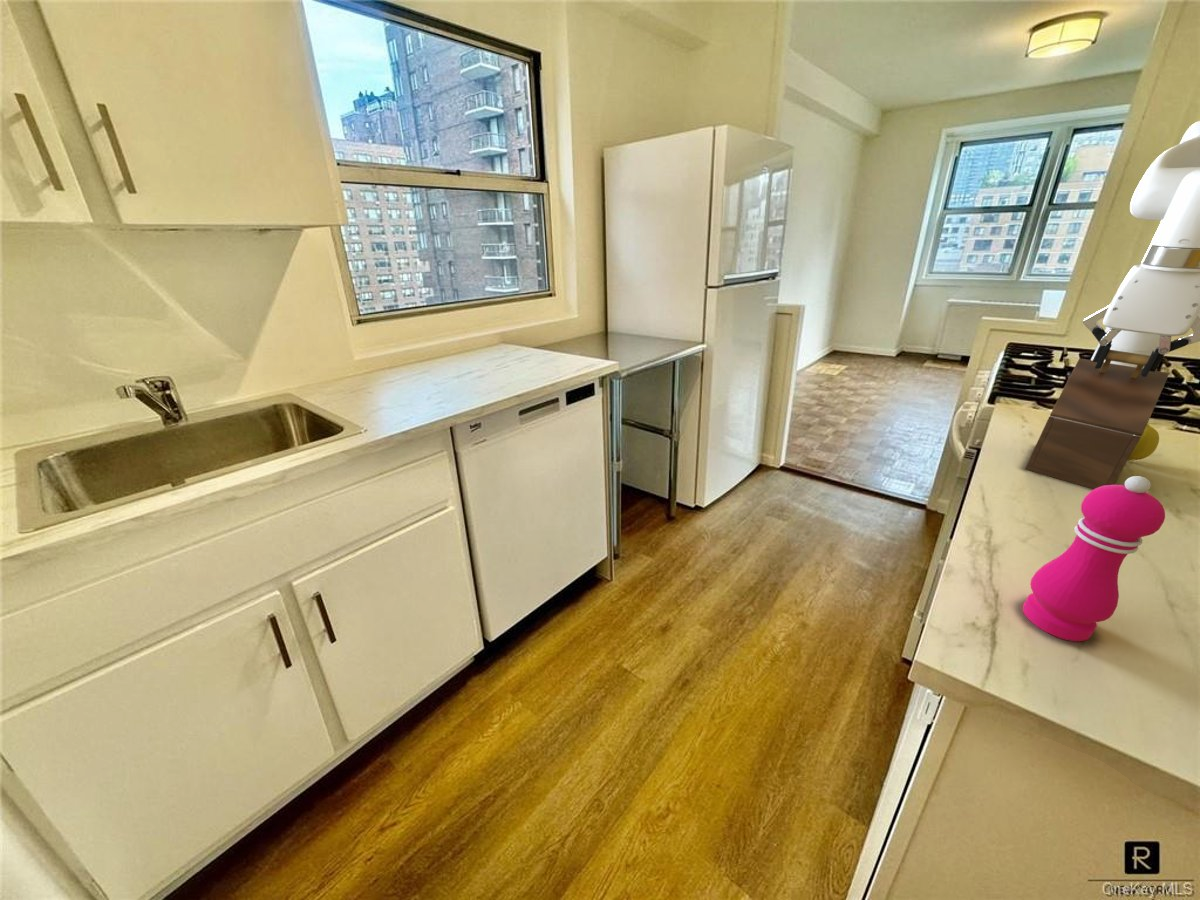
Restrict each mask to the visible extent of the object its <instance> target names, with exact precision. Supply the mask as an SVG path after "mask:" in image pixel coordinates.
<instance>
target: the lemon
mask: <svg viewBox="0 0 1200 900" xmlns="http://www.w3.org/2000/svg"><path fill="white" fill-rule="evenodd" d="M1159 442H1160V434H1159V432H1158V431H1157V430H1156V429H1155V428H1154V427H1153V426H1151V425H1150V424H1149V423H1147V426H1146V428H1145V430H1144V433H1143V434H1142V436H1141V438H1140V439H1139V441H1138V443H1137V445H1136V446H1135V448H1134V450H1133V452H1132V453H1131V455H1130V457H1129V459H1128V460H1127V462H1131V461H1139V460H1143V459H1146V458H1148V457H1150V455H1152V454H1153V453H1154V452H1155V451H1156V450H1157V448H1158V445H1159Z"/></svg>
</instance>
